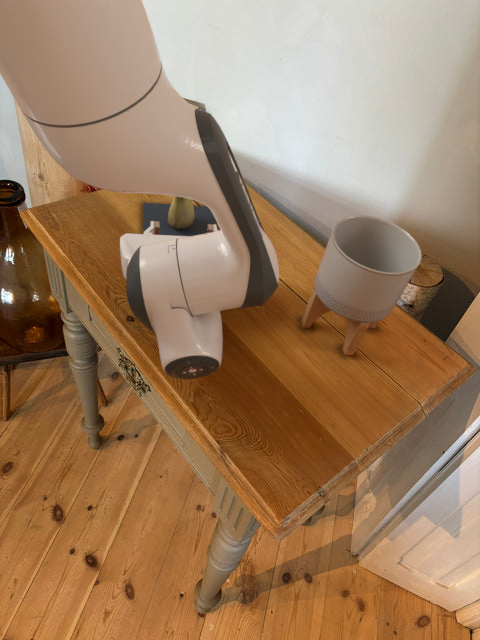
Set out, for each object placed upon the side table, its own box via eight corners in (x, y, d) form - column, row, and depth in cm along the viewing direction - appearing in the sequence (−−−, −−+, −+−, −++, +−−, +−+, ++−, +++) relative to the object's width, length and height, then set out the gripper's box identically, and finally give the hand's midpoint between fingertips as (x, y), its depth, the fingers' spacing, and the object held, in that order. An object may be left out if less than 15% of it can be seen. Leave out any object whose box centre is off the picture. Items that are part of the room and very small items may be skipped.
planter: (294, 296, 81) (322, 212, 68) (362, 298, 84) (402, 217, 71) (310, 355, 73) (346, 272, 60) (385, 355, 75) (436, 275, 62)
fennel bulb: (183, 213, 92) (187, 158, 83) (200, 225, 90) (206, 170, 81) (161, 224, 89) (162, 167, 80) (178, 237, 87) (182, 180, 78)
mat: (142, 246, 84) (142, 244, 84) (143, 204, 93) (143, 202, 92) (218, 249, 87) (218, 247, 86) (212, 208, 95) (213, 206, 95)
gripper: (259, 269, 68) (247, 213, 77) (116, 265, 64) (121, 206, 73) (251, 299, 73) (241, 243, 82) (118, 296, 69) (122, 238, 78)
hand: (183, 225), depth 78 cm, fingers open, 8 cm apart
